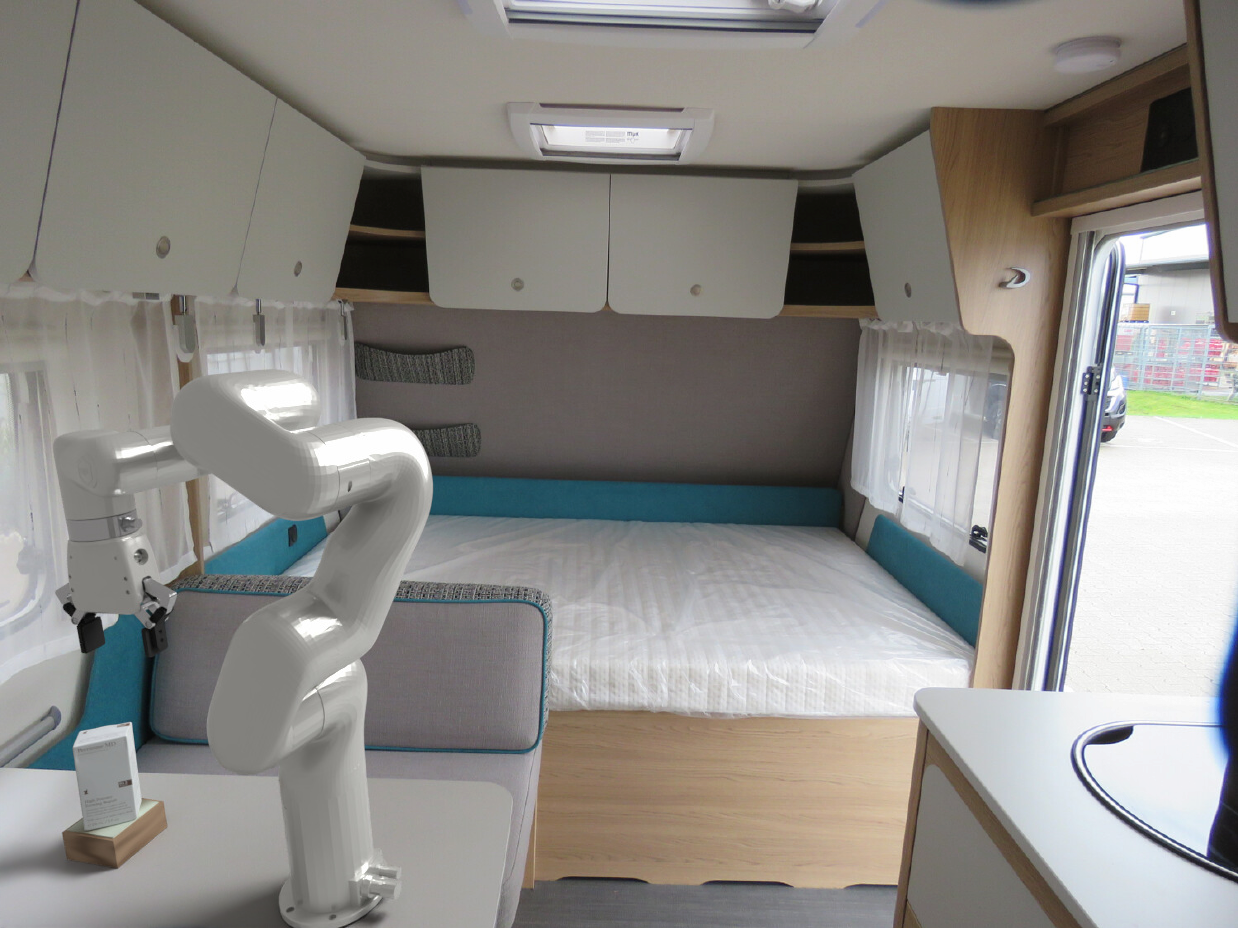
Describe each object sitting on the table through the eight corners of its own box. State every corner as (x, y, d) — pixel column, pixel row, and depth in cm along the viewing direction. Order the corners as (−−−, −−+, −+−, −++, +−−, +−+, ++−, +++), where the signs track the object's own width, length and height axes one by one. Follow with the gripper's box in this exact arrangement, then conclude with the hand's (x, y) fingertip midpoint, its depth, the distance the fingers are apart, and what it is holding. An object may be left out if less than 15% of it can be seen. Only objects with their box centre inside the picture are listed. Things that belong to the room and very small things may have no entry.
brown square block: (167, 826, 103) (163, 800, 102) (118, 868, 96) (113, 839, 95) (119, 819, 105) (115, 792, 104) (67, 859, 97) (61, 831, 96)
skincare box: (83, 833, 96) (68, 748, 94) (91, 812, 100) (76, 730, 98) (139, 819, 99) (126, 736, 96) (144, 799, 103) (131, 719, 100)
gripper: (184, 519, 97) (203, 641, 101) (72, 517, 101) (93, 636, 104) (139, 536, 90) (160, 667, 94) (19, 533, 93) (44, 660, 97)
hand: (125, 650), depth 99 cm, fingers open, 9 cm apart
